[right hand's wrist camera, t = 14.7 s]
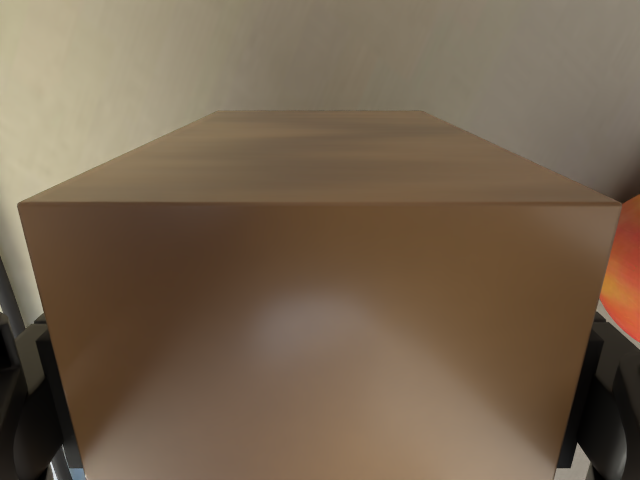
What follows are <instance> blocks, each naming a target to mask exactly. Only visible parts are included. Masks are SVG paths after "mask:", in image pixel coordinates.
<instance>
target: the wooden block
mask: <svg viewBox="0 0 640 480" xmlns="http://www.w3.org/2000/svg"><path fill="white" fill-rule="evenodd" d="M17 207H18V211H19V215H20V219H21V223H22V227H23V231H24V235H25V239H26V243H27V247H28V251H29V255H30V259H31V263H32V267H33V271H34V275H35V279H36V283H37V287H38V291H39V295H40V299H41V303H42V307H43V311H44V315H45V319H46V323H47V327H48V331H49V334H50V338H51V342H52V346H53V350H54V354H55V358H56V362H57V366H58V370H59V374H60V378H61V382H62V386H63V390H64V394H65V398H66V402H67V406H68V410H69V414H70V418H71V422H72V426H73V430H74V434H75V438H76V442H77V446H78V450H79V454H80V458H81V462H82V466H83V470H84V473H85V477H86V480H554V476H555V472H556V468H557V464H558V460H559V456H560V452H561V448H562V444H563V440H564V436H565V432H566V428H567V424H568V420H569V416H570V412H571V408H572V404H573V400H574V396H575V392H576V388H577V384H578V380H579V376H580V372H581V368H582V365H583V361H584V357H585V353H586V349H587V345H588V341H589V337H590V333H591V329H592V325H593V321H594V317H595V313H596V309H597V305H598V301H599V297H600V293H601V289H602V285H603V281H604V277H605V273H606V269H607V265H608V261H609V257H610V253H611V249H612V245H613V241H614V237H615V233H616V229H617V225H618V221H619V217H620V213H621V209H622V203H621V202H618V201H616V200H614V199H612V198H610V197H608V196H605V195H603V194H601V193H599V192H597V191H595V190H592V189H590V188H588V187H586V186H584V185H582V184H579V183H577V182H575V181H573V180H571V179H569V178H566V177H564V176H562V175H560V174H558V173H556V172H553V171H551V170H549V169H547V168H545V167H543V166H540V165H538V164H536V163H534V162H532V161H530V160H527V159H525V158H523V157H521V156H519V155H517V154H514V153H512V152H510V151H508V150H506V149H504V148H501V147H499V146H497V145H495V144H493V143H491V142H488V141H486V140H484V139H482V138H480V137H478V136H475V135H473V134H471V133H469V132H467V131H465V130H462V129H460V128H458V127H456V126H454V125H452V124H449V123H447V122H445V121H443V120H441V119H439V118H437V117H434V116H432V115H430V114H428V113H426V112H424V111H216V112H214V113H212V114H210V115H208V116H205V117H203V118H201V119H199V120H197V121H195V122H192V123H190V124H188V125H186V126H184V127H182V128H179V129H177V130H175V131H173V132H171V133H169V134H166V135H164V136H162V137H160V138H158V139H156V140H153V141H151V142H149V143H147V144H145V145H143V146H140V147H138V148H136V149H134V150H132V151H130V152H127V153H125V154H123V155H121V156H119V157H117V158H114V159H112V160H110V161H108V162H106V163H104V164H101V165H99V166H97V167H95V168H93V169H90V170H88V171H86V172H84V173H82V174H80V175H77V176H75V177H73V178H71V179H69V180H67V181H64V182H62V183H60V184H58V185H56V186H54V187H51V188H49V189H47V190H45V191H43V192H41V193H38V194H36V195H34V196H32V197H30V198H28V199H25V200H23V201H21V202H19V203H18V205H17Z"/></svg>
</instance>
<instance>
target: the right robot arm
mask: <svg viewBox="0 0 640 480" xmlns="http://www.w3.org/2000/svg"><path fill="white" fill-rule="evenodd" d="M0 305H1V308H2V311H3V313H1V312H0V480H54V478H53V473H52V469H51V466H50V462H52V464H53V467H54V470H55V473H56V476H57V478H58V480H72V477H71V474H70V472H69V469H68V466H69V468H83V466H82V462H81V458H80V454H79V450H78V446H77V442H76V438H75V434H74V430H73V426H72V422H71V418H70V414H69V410H68V406H67V402H66V398H65V394H64V390H63V386H62V382H61V378H60V374H59V370H58V366H57V362H56V358H55V354H54V350H53V346H52V342H51V338H50V334H49V331H48V327H47V323H46V319H45V315H44V313H43V314H42V315H41V316H40V317H38V318H37V319H36V320H35V321H34V324H31V325H30V326H28V327H27V328H26V329H25V326H24V323H23V320H22V317H21V314H20V311H19V308H18V305H17V302H16V299H15V296H14V293H13V290H12V287H11V284H10V281H9V279H8V276H7V273H6V270H5V268H4V265H3V262H2V260H1V257H0ZM577 442H578V444H579V445H580V447H581V448H582V450H583V451H584V452H585V454H586V455H587V457H588V458H589V460H590V461H591V462H590V466H589V469H588V473H587V476H586V480H640V350H639V349H638V348H637V347H636V346H635V345H634V344H633V343H632V342H630V341H629V340H628V339H627V338H626V337H625V336H624V335H623V334H621V333H620V332H619V331H618V330H617V329H616V328H615V327H614V326H613V325H611V324H610V323H609V322H606V319H605V318H604V317H602V316H601V315H600V314H599V313H598V312H596V313H595V317H594V321H593V325H592V329H591V333H590V337H589V341H588V345H587V349H586V353H585V357H584V361H583V365H582V368H581V372H580V376H579V380H578V384H577V388H576V392H575V396H574V400H573V404H572V408H571V412H570V416H569V420H568V424H567V428H566V432H565V436H564V440H563V444H562V448H561V452H560V456H559V460H558V464H557V468H571V464H572V461H573V457H574V453H575V449H576V446H577ZM62 444H63V447H64V451H65V454H66V458H67V462H68V466H67V463H66V460H65V457H64V454H63V451H62V447H61V446H62Z"/></svg>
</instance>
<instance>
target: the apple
mask: <svg viewBox="0 0 640 480" xmlns="http://www.w3.org/2000/svg"><path fill="white" fill-rule="evenodd" d="M599 298H600V300H601V302H602V304H603V306H604V307H605V309H606V311H607V312H608V313H609V315H610V316H611V317H612V319H613V320H614V321H615V322H616V323H617V324H618V325H619V326H620V327H621V328H622V329H623V330H624V331H625V332H626V333H627V334H629V335H630V336H631V337H632V338H634V339H635V340H637V341H638V342H640V194H639V195H637V196H635V197H633V198H632V199H630V200H628V201H626V202H625V203H623V204H622V209H621V213H620V217H619V221H618V225H617V229H616V233H615V237H614V241H613V245H612V249H611V253H610V257H609V261H608V265H607V269H606V273H605V277H604V281H603V285H602V289H601V293H600V297H599Z"/></svg>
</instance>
